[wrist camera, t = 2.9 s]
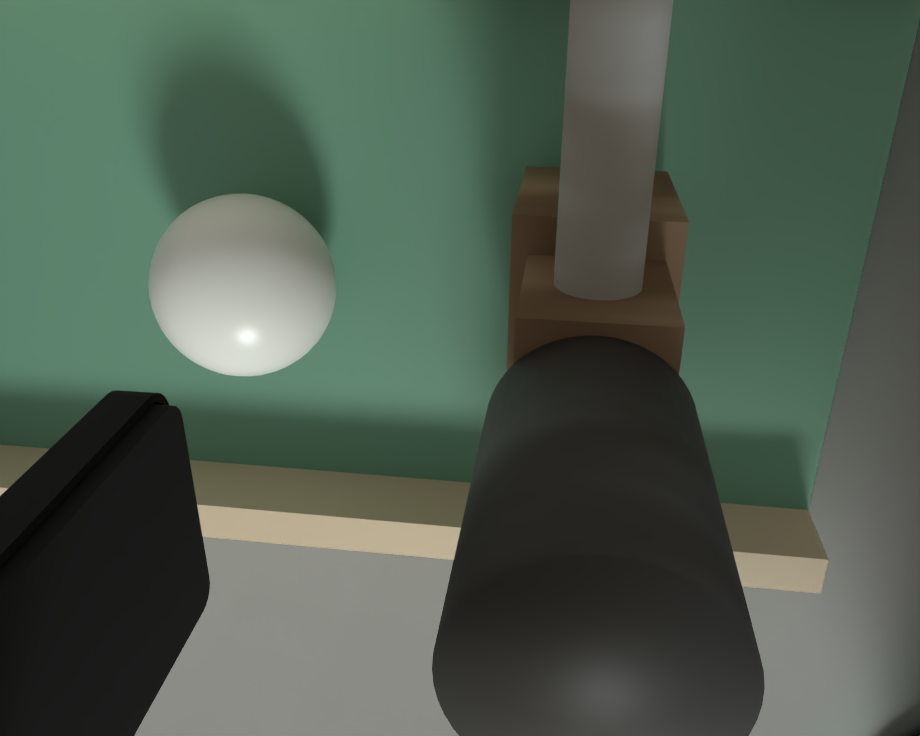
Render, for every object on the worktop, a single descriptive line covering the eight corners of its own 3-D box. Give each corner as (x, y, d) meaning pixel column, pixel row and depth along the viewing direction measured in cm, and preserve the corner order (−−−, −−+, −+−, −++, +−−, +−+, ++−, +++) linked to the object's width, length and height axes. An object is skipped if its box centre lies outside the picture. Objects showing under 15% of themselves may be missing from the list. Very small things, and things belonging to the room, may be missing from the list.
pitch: (916, -64, 17) (985, -71, 14) (790, 514, 23) (820, 593, 20) (-393, -69, 20) (-555, -75, 17) (-199, 434, 26) (-295, 490, 23)
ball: (351, 178, 19) (298, 226, 15) (359, 338, 21) (312, 414, 17) (185, 172, 19) (96, 217, 16) (206, 329, 21) (130, 401, 18)
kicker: (721, -243, 14) (1114, -856, 4) (620, 616, 23) (652, 1185, 12) (537, -239, 15) (419, -788, 4) (504, 604, 23) (436, 1147, 13)
